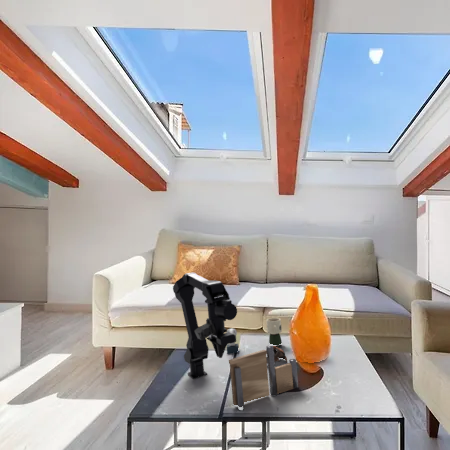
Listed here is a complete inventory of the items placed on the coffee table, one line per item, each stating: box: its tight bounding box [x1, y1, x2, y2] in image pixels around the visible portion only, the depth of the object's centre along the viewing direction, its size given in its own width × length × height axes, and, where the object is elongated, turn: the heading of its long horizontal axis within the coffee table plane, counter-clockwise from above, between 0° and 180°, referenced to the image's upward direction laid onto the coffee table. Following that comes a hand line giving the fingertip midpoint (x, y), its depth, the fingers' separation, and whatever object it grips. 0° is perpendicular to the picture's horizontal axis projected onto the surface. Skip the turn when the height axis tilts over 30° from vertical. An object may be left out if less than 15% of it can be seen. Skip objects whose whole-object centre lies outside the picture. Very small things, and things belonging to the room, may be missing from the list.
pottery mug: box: [265, 346, 288, 365], centre depth 166 cm, size 12×10×8 cm
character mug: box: [265, 317, 283, 345], centre depth 187 cm, size 11×7×13 cm, turn 0°
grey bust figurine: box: [226, 328, 240, 355], centre depth 184 cm, size 6×8×11 cm
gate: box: [228, 349, 270, 405], centre depth 131 cm, size 2×14×16 cm, turn 120°
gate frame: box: [234, 345, 299, 407], centre depth 133 cm, size 4×26×17 cm, turn 117°
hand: (219, 357), depth 143 cm, fingers closed
